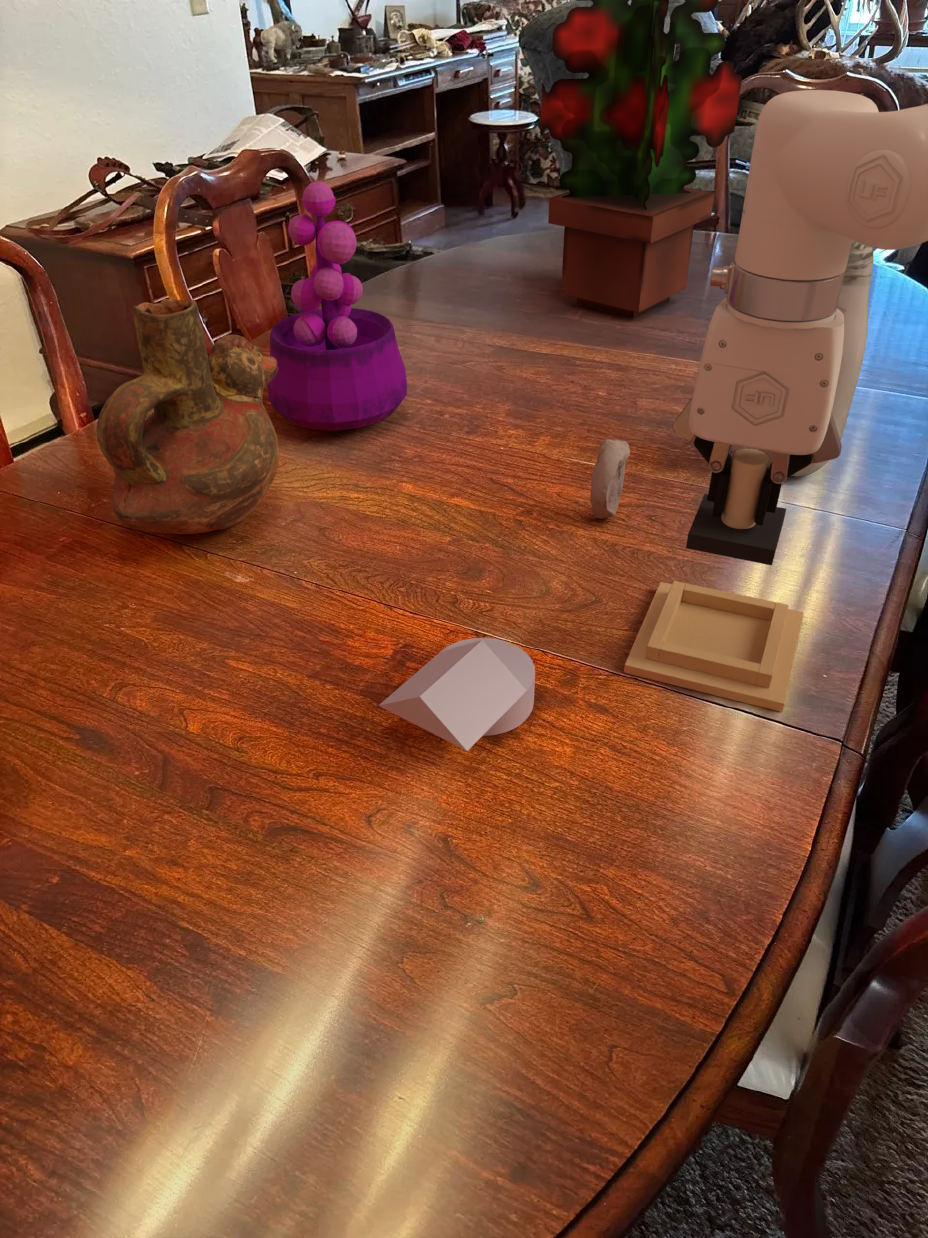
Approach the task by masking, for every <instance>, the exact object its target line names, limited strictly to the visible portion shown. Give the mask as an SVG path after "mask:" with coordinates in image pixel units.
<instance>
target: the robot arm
mask: <svg viewBox="0 0 928 1238" xmlns="http://www.w3.org/2000/svg"><path fill="white" fill-rule="evenodd" d="M852 241H855V242H858V243H860V244H863V245H866V246H869V247H872V248H873V249H879V250H884V251H885V250H888V251H897V250H903V249H909V248H912V247H915V246H918V245H921V244H923V243H926V242H928V103H924V104H922V105H918V106H912V107H908V108H903V109H899V110H893V111H879V109H878V106H877V104H876V103H875V102H874V101H873V100H872V99H870V98H869V97H867V96H865V95H863V94H858V93H854V92H847V91H841V90H831V89H829V90H828V89H805V90H804V89H803V90H792V91H787V92H783V93H780V94H777V95H775V96H773V97H772V98H771V99H769V100H767V102H766V103H765V104H764V106H763V107H762V109H761V111H760V113H759V116H758V120H757V124H756V127H755V133H754V138H753V144H752V151H751V157H750V164H749V171H748V176H747V181H746V188H745V194H744V200H743V206H742V212H741V220H740V224H739V231H738V238H737V244H736V249H735V256H734V261H732V262H730V264H729V265H724V266H723V267H720V266H713V268H712V270H711V274H710V281H709V286H710V287H719V289H720V290H724V294H726V298H723V299H722V300H721V301H719V303H718V304H717V305H716V307H715V309H714V312H713V313H712V317H711V319H710V322H709V325H708V328H707V331H706V335H705V338H704V342H703V346H702V351H701V355H700V359H699V363H698V367H697V372H696V378H695V382H694V386H693V393H692V396H691V398H690V399H689V401H688V402H687V403H686V405H685V406H684V407H683V409H682V410H681V412H680V413H679V414H678V415H677V417H675V419H674V422H673V424H672V427H671V429H672V431H673V432H674V433H675V434H677V435H678V436H680V437H681V438H683V439H684V440H685V441H687V442H689V443H691V444H693V446H694V447H695V449H696V451H698V453H699V454H700V455H701V457H702V458H703V459H704V460H705V461H706V463H707V464H708V467H707V468H708V470H709V471H710V472H711V475H710V481H709V485H708V492H707V494H708V497H707V501H711V502H714V507H713V513H712V516H714V517H719V516H721V515H722V512H723V508H724V503H725V498H726V492H727V487H728V481H729V476H730V469H731V463H732V458H733V456H732V455H731V454H730V453H731V450H732V446H734V447H735V446H736V447H741V448H746V449H755V450H757V449H759V450H765V451H771V452H774V453H773V462H772V463H771V464H770V467H767V471H766V476H765V477H764V480H763V483H762V488H761V492H760V497H759V502H758V507H757V511H756V516H755V521H754V522H755V523H756V525H761V526H763V523H764V520H765V516H766V513H767V512H771V513H775V511H776V508H777V507H778V505H779V504H778V503H779V499H780V495H781V490H782V485H783V484H784V483H785V482H786V481H787V479H788V478H789V477H792V476H791V475H793V474H795V473H797V472H798V471H800V470H802V469H804V468H805V467H807V466H809V465H810V464H812V463H819V462H823V461H827V460H829V461H831V460H835V459H838V458H839V457H840V456H841V452H842V448H843V446H842V445H843V444H842V440H841V441H840V437H839V434H838V431H837V427H836V424H835V421H834V418H833V414H832V408H833V403H834V398H835V393H836V388H837V382H838V377H839V372H840V366H841V360H842V353H843V341H844V315H843V313H842V312H841V311H840V310H839V309H837V304H838V300H839V296H840V292H841V287H842V283H843V279H844V275H845V269H846V267H847V262H848V258H849V254H850V250H851V245H852Z"/></svg>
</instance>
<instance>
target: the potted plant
mask: <svg viewBox="0 0 928 1238" xmlns="http://www.w3.org/2000/svg"><path fill="white" fill-rule="evenodd" d="M575 1H577V2H581V1H587V2H589V1H591V2H592V4H591V5H590V6H576V7H572V8H571V9H570V10H569V11H568V13H567V15H566V19H564V20H563V21H562V22H559V23H557V24H556V25H555V27H554V28H553V31H552V41H551V51H552V54H553V55H554V57H555V58H557V59H558V60H562V61H563V63H564V67H565V69H566V70H567V72H569V73H572V74H587V75H588V76H587V77H584V78H560V79H557V80H555V81H554V82H553V83H552V84H551V87H550V90H549V92H547V90H546V87H545V84H544V83H543V82H541V96H540V97H541V98H540V100H541V101H540V128H539V129H540V131H539V133H540V134H539V138H540V139H541V138H542V137H543V135H544V132H545V131H546V129H547V130H548V133H549V136H550V137H551V138H552V139H553V140H556V141H558V142H560V146H561V149H562V150H563V151H564V152H566V153H570V154H571V168H570V169H568V170H565V171H563V172H562V173H561V174H560V177H559V180H558V182H559V186H560V187H561V188H562V189H564V190H567V191H566V192H564V193H560V194H558V195H555V196H552V197H549V198H548V217H547V220H548V221H547V223H548V224H549V225H554V226H560V227H564V231H563V248H562V249H563V250H562V268H561V270H562V271H561V291H560V294H561V295H564V296H569V297H572V298H576V301H575V303H576V304H575V305H577V306H581V307H585V308H589V309H594V310H598V311H601V312H606V313H609V314H614V315H618V316H621V317H626V318H629V319H635V318H637V317H639V316H641V315H644V314H646V313H648V312H649V311H651V310H652V309H655V308H657V307H659V306H661V305H662V304H664V303H666V302H669V301H670V298H671V297H672V296H674V295H676V294H678V293H679V292H682V291H684V290H685V289H686V288H687V283H688V274H689V267H690V260H691V259H690V258H691V251H692V243H693V237H694V236H693V235H694V228H695V225H696V224H699V223H701V222H703V221H706V220H709V219H710V218H712V213H713V207H714V199H715V191H710V190H704V189H700V188H699V189H697V188H691V187H686V186H689V185H691V184H693V183H694V181H696V178H697V170H696V169H695V168H694V167H693V166H690V165H688V164H687V163H688V162H691V161H693V160H695V159H696V158H697V157H698V155H699V153H700V146H699V144H698V142H696V141H693V140H691V139H690V138H691V137H700V136H701V137H702V136H703V137H704V138H705V141H706V144H707V146H709V147H710V148H713V149H716V148H718V147H720V146H722V144H723V143H724V142H725V138H726V137H727V136H728V135H731V134H733V133H735V129H736V123H737V115H738V109H739V102H740V95H741V88H742V81H743V75H741V74H739V73H737V72H736V71H735V67H734V66H735V65H734V64H733V62H731V61H729V60H722V61H720V62H719V63H718V64H717V65H716V67H715V69H714V72H713V73H711V72H710V71H711V65H712V64H711V63H712V58H713V57H714V56H717V55H719V54H721V53H722V52H723V51H724V49H725V47H726V45H727V41H726V37H725V36H724V34H723V33H720V32H704V30H703V26H702V23H701V22H700V20H698V19H696V18H694V17H693V16H692V15H694V14H701V13H703V14H705V13H710V12H712V11H714V10H715V9H716V8H717V7H718V3H719V1H720V0H684V2H683V3H681V4H679V5H677V6H675V7H674V8H673V9H672V11H671V13H670V16H669V26H668V32H667V33H666V32H665V24H666V18H667V16H668V11H669V4H670V0H575ZM628 2H630V3H628ZM676 44H679V51H678V52H679V53H678V59H677V60H675V49H676Z"/></svg>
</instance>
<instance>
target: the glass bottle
mask: <svg viewBox="0 0 928 1238" xmlns="http://www.w3.org/2000/svg"><path fill="white" fill-rule="evenodd" d="M873 267H874V248H873V247H869V246H866V245H863V244H860V243H858V242H855V241H852V245H851V250H850V254H849V258H848V262H847V267H846V269H845V275H844V279H843V283H842V287H841V292H840V296H839V300H838V304H837V309H839V310H840V311H841V312H842V313H843V315H844V341H843V353H842V360H841V366H840V372H839V377H838V382H837V388H836V393H835V398H834V403H833V408H832V414H833V418H834V421H835V424H836V427H837V431H838V434H839V437H840V441H841V442H842V438H843V435H844V433H845V429H846V425H847V422H848V417H849V413H850V410H851V406H852V402H853V399H854V397H855V396H854V395H855V392H856V390H857V385H858V382H859V378H860V375H861V370H862V366H863V363H864V359H865V353H866V349H867V340H868V325H869V323H868V321H869V296H870V288H871V281H872V275H873ZM756 450H759V449H756ZM759 451H762V452H764V453H765V454H767V455H768V457H769V462H768V467H767V468H769V467H770V464H771V463H772V462H773V453H774V452H771V451H765V450H759ZM829 462H830V460H827V461H823V462H819V463H812V464H810V465H809V466H807V467H805V468H804V469H802V470H800V471H798V472H797V473H795V474H793V475H791V476H790V477H803V476H809V475H811V474H813V473H815V472H817V471H819V470H820V469H822V468H823V467H824V466H825V465H826V464H827V463H829Z"/></svg>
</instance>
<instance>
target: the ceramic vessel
mask: <svg viewBox="0 0 928 1238" xmlns="http://www.w3.org/2000/svg"><path fill="white" fill-rule="evenodd" d="M132 309H133V311H132V312H133V321H134V327H135V333H136V338H137V344H138V350H139V354H140V358H141V364H142V369H143V374H141V375H140V376H138V377H136V378H134V379H131V380H129V381H126V382H124V383H122V384H121V385H120V386H118V387H117V388H116V389H115V390H114V391H113V392H112V393H111V394H110V396H109V397H108V398H107V400H106V401H105V403H104V404H103V406H102V408H101V410H100V412H99V415H98V418H97V422H96V439H97V442H98V445H99V448H100V451H101V454H102V455H103V457H104V458H105V460H106V461H107V463H108V464H109V465H110V467H112V469H113V472H114V482H113V489H112V508H113V511H114V514H115V515H116V516H117V518H118V519H119V520H120V521H122V522H123V523H124V524H126V525H128V526H131V527H133V528H137V529H141V530H146V531H152V532H158V533H164V534H175V535H194V534H203V533H209V532H213V531H221V530H225V529H228V528H232V527H234V526H236V525H238V524H239V523H241V522H242V521H244V520H245V519H247V518H248V517H249V516H250V515H251V514H252V513H253V512H254V510H255V509H256V508H257V507H258V506H259V504H260V503H261V502H262V501H263V500H264V498H265V497H266V494H267V493H268V491H269V490H270V488H271V485H272V483H273V481H274V480H275V477H276V475H277V471H278V467H279V464H280V447H279V439H278V435H277V432H276V429H275V426H274V424H273V422H272V420H271V417H270V415H269V414H268V411H267V409H266V408H265V405H264V402H263V394H264V393H263V392H264V390H265V389H266V388H267V385H268V384H269V383H270V381H271V380H272V379H274V378H275V376H276V374H277V372H278V369H279V368H278V367H277V360H276V358H274V357H272V356H270V355H269V356H268V355H267V356H266V355H263V351H262V349H261V348H260V347H259V346H256V345H253V344H252V343H251V342H250V341H249V340H248V339H247V338H246V337H244V336H241V335H239V334H226V335H223V336H222V337H220V338H218V339H217V340H216V341H215V342H214V344H213V345H212V348H211V350H210V354H209V355H208V349H207V345H206V340H205V335H204V334H205V333H204V330H203V326H202V322H201V317H200V311H199V305H198V302H197V301H196V300H194V299H191V300H184V299H176V298H163V299H162V300H161V301H160V302H159V303H152V302H148V301H147V302H143V303H139V304H138V305H133V307H132ZM152 410H153V412H152V413H151V414H150V415H149V416H148V414H149V413H150V412H151V411H152Z"/></svg>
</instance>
